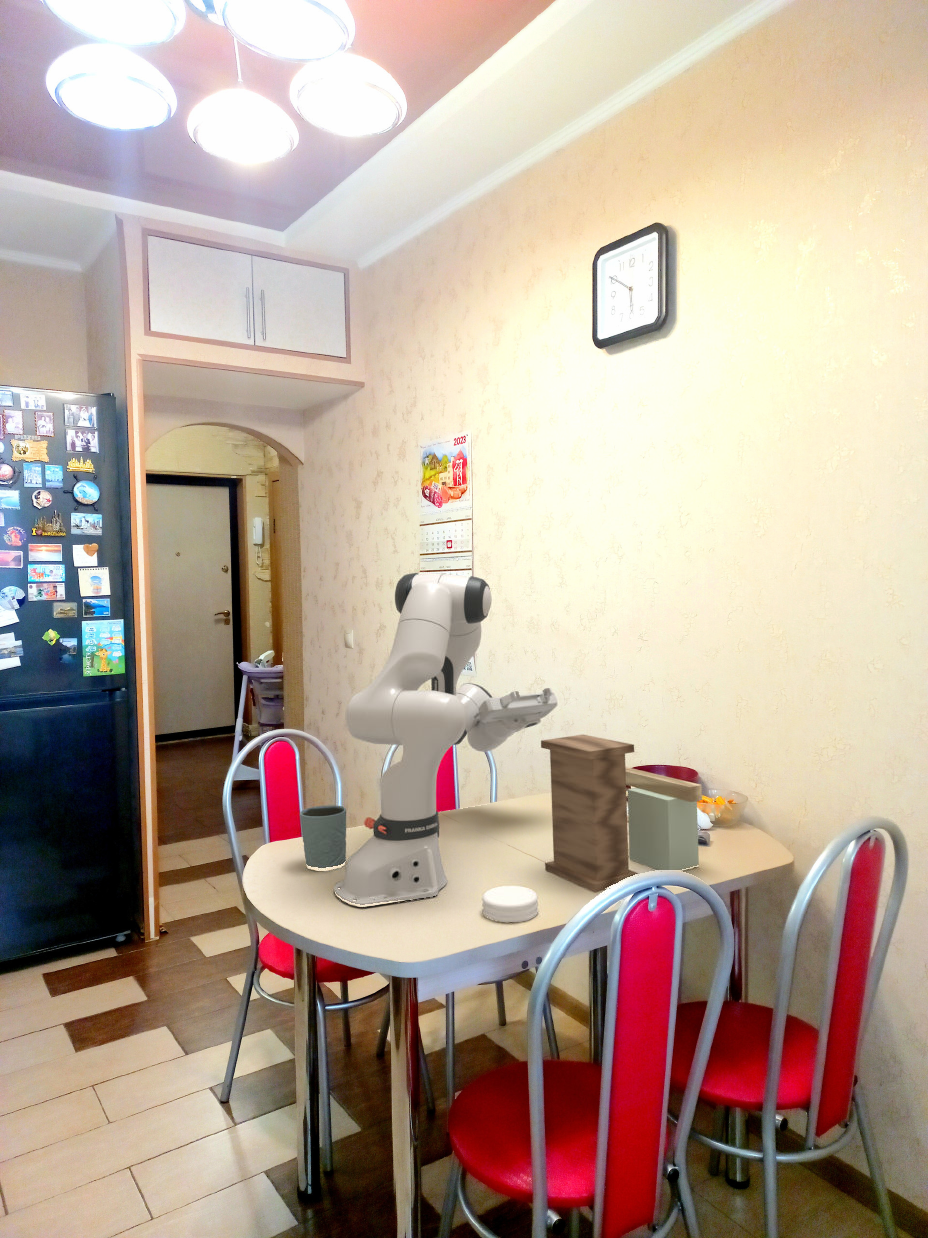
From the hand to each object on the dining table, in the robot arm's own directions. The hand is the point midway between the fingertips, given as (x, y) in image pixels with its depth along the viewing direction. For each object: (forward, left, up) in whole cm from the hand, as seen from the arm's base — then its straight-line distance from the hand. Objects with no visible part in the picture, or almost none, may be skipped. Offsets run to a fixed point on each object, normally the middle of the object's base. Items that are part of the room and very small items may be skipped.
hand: (533, 692), depth 196 cm
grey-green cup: (-50, +9, -34) cm, 61 cm away
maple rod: (+9, -31, -19) cm, 37 cm away
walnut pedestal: (-8, -30, -34) cm, 46 cm away
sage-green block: (+9, -33, -34) cm, 48 cm away
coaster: (-32, -37, -34) cm, 60 cm away
